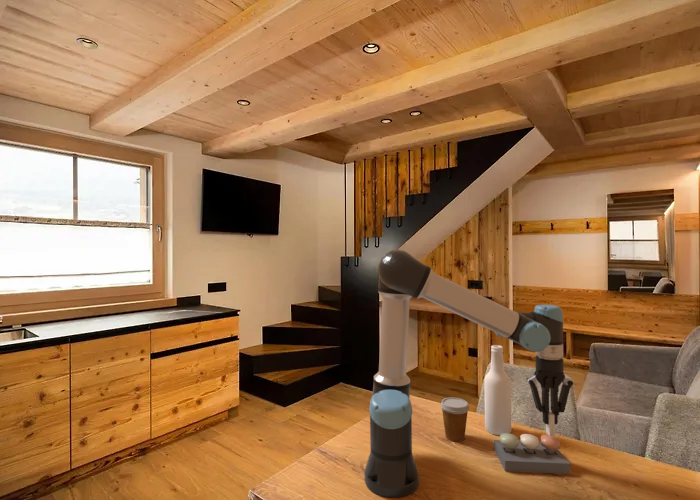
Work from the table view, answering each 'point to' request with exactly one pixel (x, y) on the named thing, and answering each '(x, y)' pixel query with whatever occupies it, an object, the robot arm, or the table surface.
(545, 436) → the terracotta button
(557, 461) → the button board
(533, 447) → the ivory button
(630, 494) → the table surface
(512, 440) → the sage button
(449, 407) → the disposable coffee cup
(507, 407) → the alcohol
